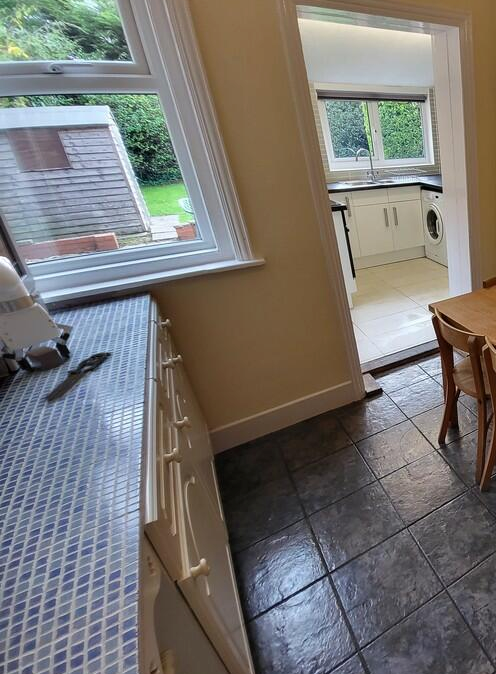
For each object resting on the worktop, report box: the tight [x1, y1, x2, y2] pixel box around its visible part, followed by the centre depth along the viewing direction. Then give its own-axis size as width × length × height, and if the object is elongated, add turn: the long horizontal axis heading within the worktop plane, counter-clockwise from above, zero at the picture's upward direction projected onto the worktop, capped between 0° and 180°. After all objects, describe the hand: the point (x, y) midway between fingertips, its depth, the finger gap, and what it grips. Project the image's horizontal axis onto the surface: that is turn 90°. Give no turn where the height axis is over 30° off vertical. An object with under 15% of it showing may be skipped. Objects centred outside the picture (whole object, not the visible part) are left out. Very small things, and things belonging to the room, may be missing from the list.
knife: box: [45, 351, 112, 405], centre depth 105 cm, size 25×6×1 cm, turn 16°
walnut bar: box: [24, 345, 65, 372], centre depth 112 cm, size 7×4×4 cm, turn 66°
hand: (48, 363), depth 113 cm, fingers open, 6 cm apart
